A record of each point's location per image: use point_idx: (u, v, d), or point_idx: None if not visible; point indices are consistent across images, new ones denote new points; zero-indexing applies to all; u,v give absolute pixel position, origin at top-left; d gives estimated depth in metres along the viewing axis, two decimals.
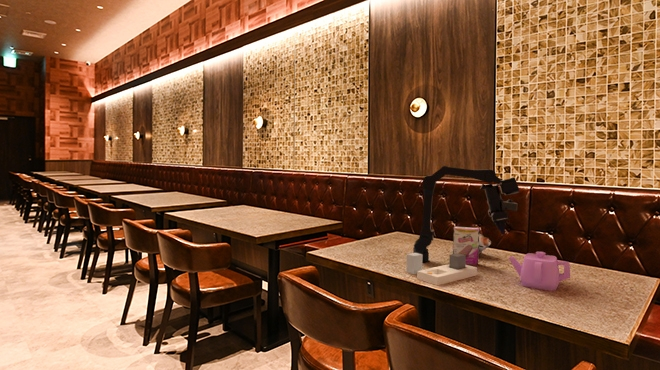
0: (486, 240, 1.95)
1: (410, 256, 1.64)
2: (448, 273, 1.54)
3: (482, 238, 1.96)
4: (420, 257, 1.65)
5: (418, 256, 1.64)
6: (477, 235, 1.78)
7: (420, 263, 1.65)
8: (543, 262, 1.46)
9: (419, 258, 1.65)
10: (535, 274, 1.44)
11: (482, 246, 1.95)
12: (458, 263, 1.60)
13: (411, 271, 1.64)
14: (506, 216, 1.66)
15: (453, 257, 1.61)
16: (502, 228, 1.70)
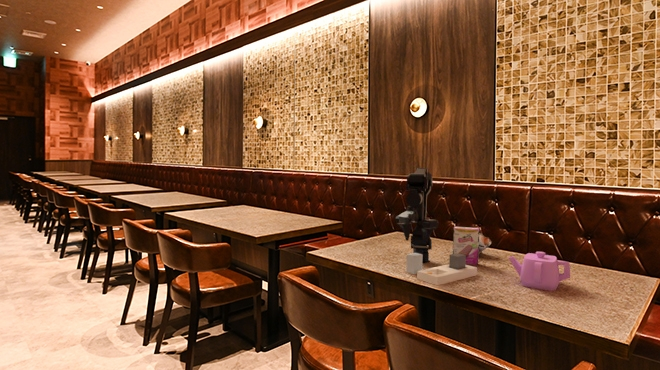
0: (487, 240, 1.96)
1: (410, 256, 1.64)
2: (448, 273, 1.54)
3: (483, 238, 1.96)
4: (420, 257, 1.65)
5: (418, 256, 1.64)
6: (477, 235, 1.78)
7: (420, 263, 1.65)
8: (543, 262, 1.46)
9: (419, 258, 1.65)
10: (535, 274, 1.44)
11: (483, 246, 1.95)
12: (458, 263, 1.60)
13: (411, 271, 1.64)
14: None
15: (453, 257, 1.61)
16: None
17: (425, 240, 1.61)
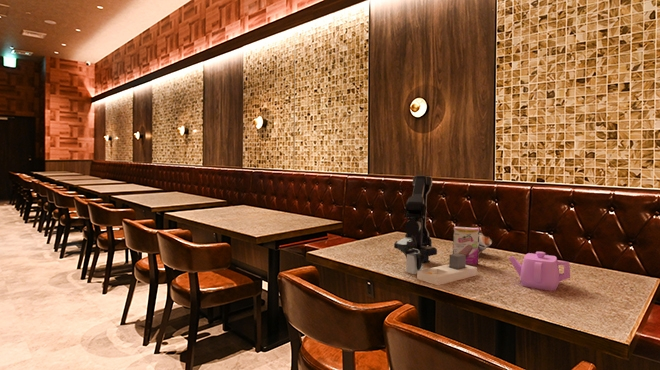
0: (487, 240, 1.96)
1: (410, 256, 1.64)
2: (448, 273, 1.54)
3: (483, 238, 1.97)
4: None
5: None
6: (477, 235, 1.78)
7: None
8: (543, 262, 1.46)
9: None
10: (535, 274, 1.44)
11: (483, 246, 1.96)
12: (458, 263, 1.60)
13: (411, 271, 1.64)
14: None
15: (453, 257, 1.61)
16: None
17: (419, 266, 1.64)
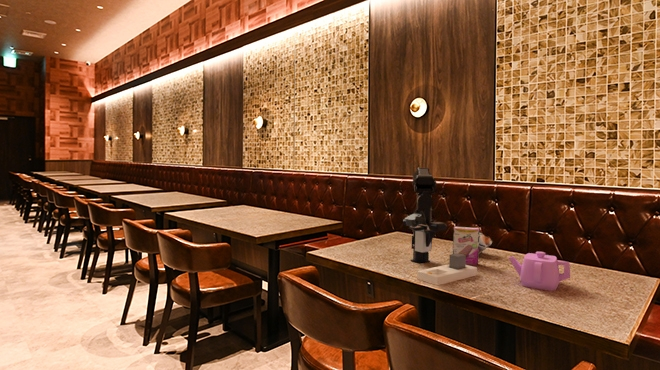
0: (488, 239, 1.97)
1: (419, 232, 1.60)
2: (448, 273, 1.54)
3: (484, 237, 1.97)
4: None
5: None
6: (477, 235, 1.78)
7: None
8: (543, 262, 1.46)
9: None
10: (535, 274, 1.44)
11: (484, 245, 1.96)
12: (458, 263, 1.60)
13: (420, 248, 1.59)
14: None
15: (453, 257, 1.61)
16: None
17: (428, 242, 1.59)
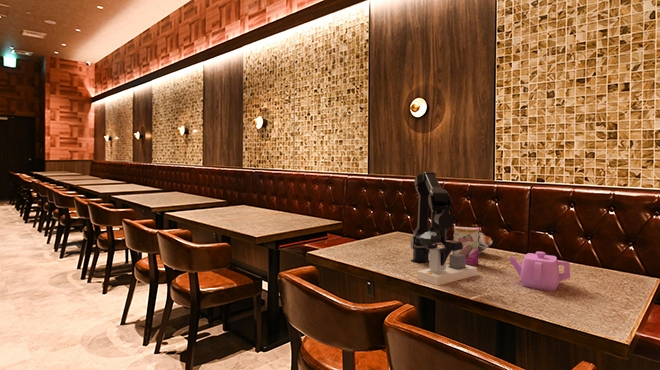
0: (488, 239, 1.97)
1: (433, 251, 1.54)
2: (448, 273, 1.54)
3: (484, 237, 1.98)
4: None
5: None
6: (477, 235, 1.78)
7: None
8: (543, 262, 1.46)
9: None
10: (535, 274, 1.44)
11: (484, 245, 1.97)
12: (458, 263, 1.60)
13: (434, 267, 1.54)
14: None
15: (453, 257, 1.61)
16: None
17: (443, 261, 1.54)
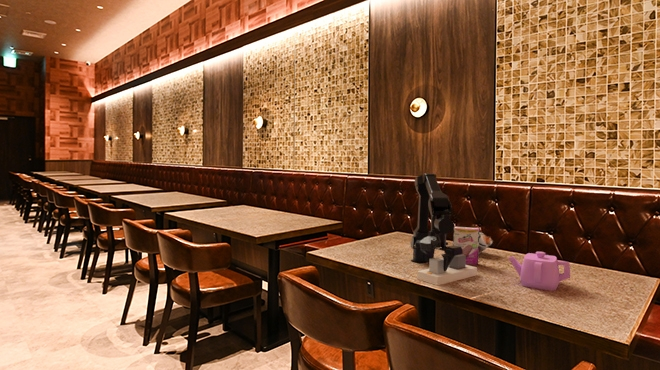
0: (488, 239, 1.97)
1: (433, 261, 1.54)
2: (448, 273, 1.54)
3: (484, 237, 1.98)
4: None
5: (442, 261, 1.54)
6: (477, 235, 1.78)
7: None
8: (543, 262, 1.46)
9: None
10: (535, 274, 1.44)
11: (485, 245, 1.97)
12: (458, 263, 1.60)
13: None
14: None
15: None
16: None
17: (446, 267, 1.53)
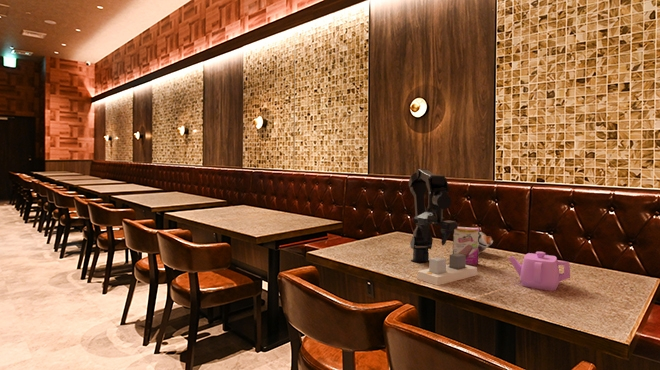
0: (489, 239, 1.98)
1: (433, 261, 1.54)
2: (448, 273, 1.54)
3: (485, 237, 1.99)
4: (444, 262, 1.55)
5: (442, 261, 1.54)
6: (477, 235, 1.78)
7: (444, 268, 1.55)
8: (543, 262, 1.46)
9: (443, 263, 1.55)
10: (535, 274, 1.44)
11: (485, 245, 1.98)
12: (458, 263, 1.60)
13: None
14: None
15: (453, 257, 1.61)
16: None
17: (444, 241, 1.62)
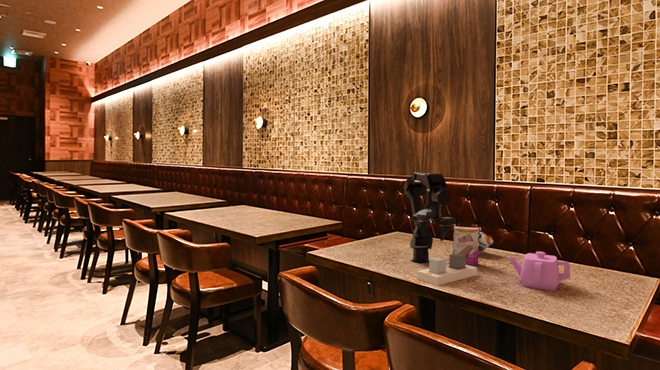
0: (489, 239, 1.99)
1: (433, 261, 1.54)
2: (448, 273, 1.54)
3: (485, 237, 1.99)
4: (444, 262, 1.55)
5: (442, 261, 1.54)
6: (477, 235, 1.78)
7: (444, 268, 1.55)
8: (543, 262, 1.46)
9: (443, 263, 1.55)
10: (535, 274, 1.44)
11: (486, 245, 1.98)
12: (458, 263, 1.60)
13: None
14: None
15: (453, 257, 1.61)
16: None
17: (442, 237, 1.67)
